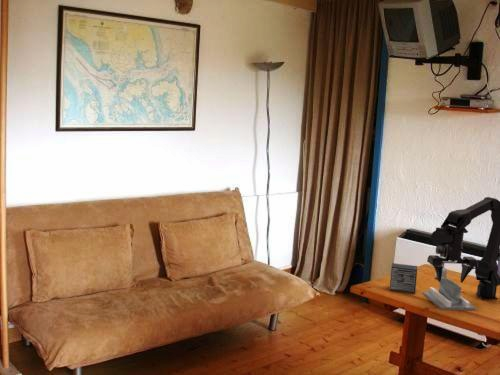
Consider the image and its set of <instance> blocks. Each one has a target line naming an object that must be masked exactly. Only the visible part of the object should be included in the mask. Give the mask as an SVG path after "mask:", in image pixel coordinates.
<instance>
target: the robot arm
mask: <svg viewBox="0 0 500 375" xmlns="http://www.w3.org/2000/svg"><path fill="white" fill-rule="evenodd" d="M489 211H490V218H491V221H492V225H491V228H490V233H489V235H488V236H489V237H488V241H487V244H486V247H485V251H484V255H483V257H482V258H481V259H476V258H475V257H473V256H463V257H462V252H463V251H464V248H463V244H464V243H463V242H464V234H468V232H469V230H467V228H466V227H467V226H469V225H470V224H471V222H472V220H474V219H475V218H478V217H479V216H481V215H483V214H485V213H487V212H489ZM430 239H431V242H432V244H433V245H435V255H430V254H429V255H428V256H427V261H426V262H427V263H428V264H429V265H431V266H433V268H434V270H435V272H436V274H437V277H436V279H437V281H438V283H440V281H441V276H442V269H443V267H442V266H441V265H442V264H443V263H444V264H459V265H460V264H461V273H460V281H459V282H460V283H461V284H463V282H464V281H465V280H466V278H467V276H468V275H469V274H470V273H471V272H472V271H473V270H474V273H475V278H476V281H478V282H479V283H478V285H477V290H476V293H475V295H477V296H478V297H479V298H481V299H483V300H498V297H497V296H496V295H497V287H498V286H500V275H499V266H498V265H499V264H498V262H497V258H498V255H499V251H500V200H499V199H497V198H495V197H489V196H487V197H484V199H481V200H480V201H478V202H476V203H474V204H472V205H470V206H468V207H466V208H463V209H456V210H451V211H450V212H449V213H448V214H447V216H446V218H445V219H444V221H443V222H442V224H441V225H440V227H435V230H434V231H433V232H432V233H431V235H430ZM442 245H444V248H442Z"/></svg>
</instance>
